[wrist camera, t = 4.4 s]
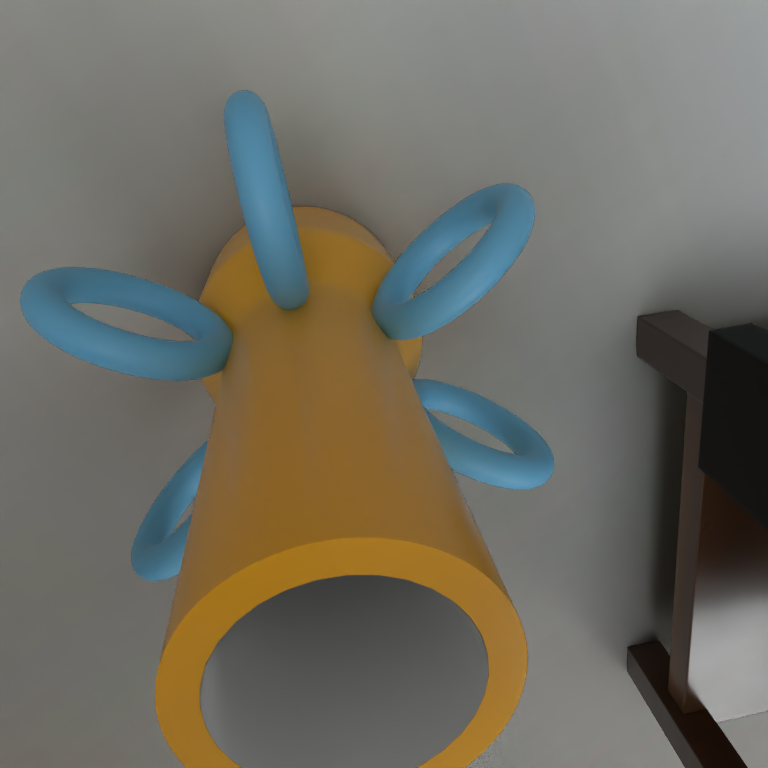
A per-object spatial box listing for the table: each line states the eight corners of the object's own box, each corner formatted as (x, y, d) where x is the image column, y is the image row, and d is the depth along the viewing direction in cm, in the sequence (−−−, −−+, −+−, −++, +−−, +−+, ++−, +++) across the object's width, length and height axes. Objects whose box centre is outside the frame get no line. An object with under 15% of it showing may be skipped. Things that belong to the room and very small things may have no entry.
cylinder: (489, 430, 23) (773, 887, 10) (201, 497, 23) (83, 1078, 9) (438, 55, 18) (880, -68, 5) (68, 131, 18) (-621, 234, 4)
